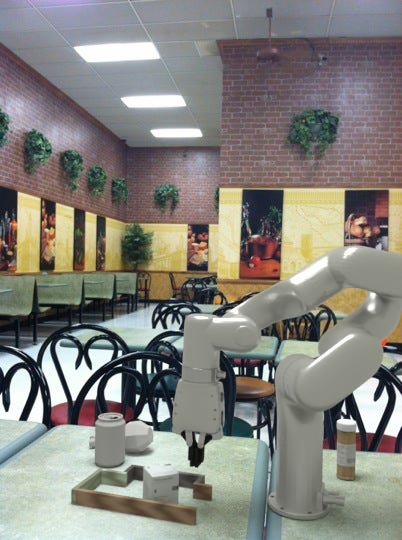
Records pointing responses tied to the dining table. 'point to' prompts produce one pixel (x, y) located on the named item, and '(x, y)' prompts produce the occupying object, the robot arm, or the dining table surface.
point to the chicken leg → (134, 437)
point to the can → (110, 440)
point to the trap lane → (139, 506)
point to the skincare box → (161, 483)
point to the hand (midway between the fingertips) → (195, 464)
